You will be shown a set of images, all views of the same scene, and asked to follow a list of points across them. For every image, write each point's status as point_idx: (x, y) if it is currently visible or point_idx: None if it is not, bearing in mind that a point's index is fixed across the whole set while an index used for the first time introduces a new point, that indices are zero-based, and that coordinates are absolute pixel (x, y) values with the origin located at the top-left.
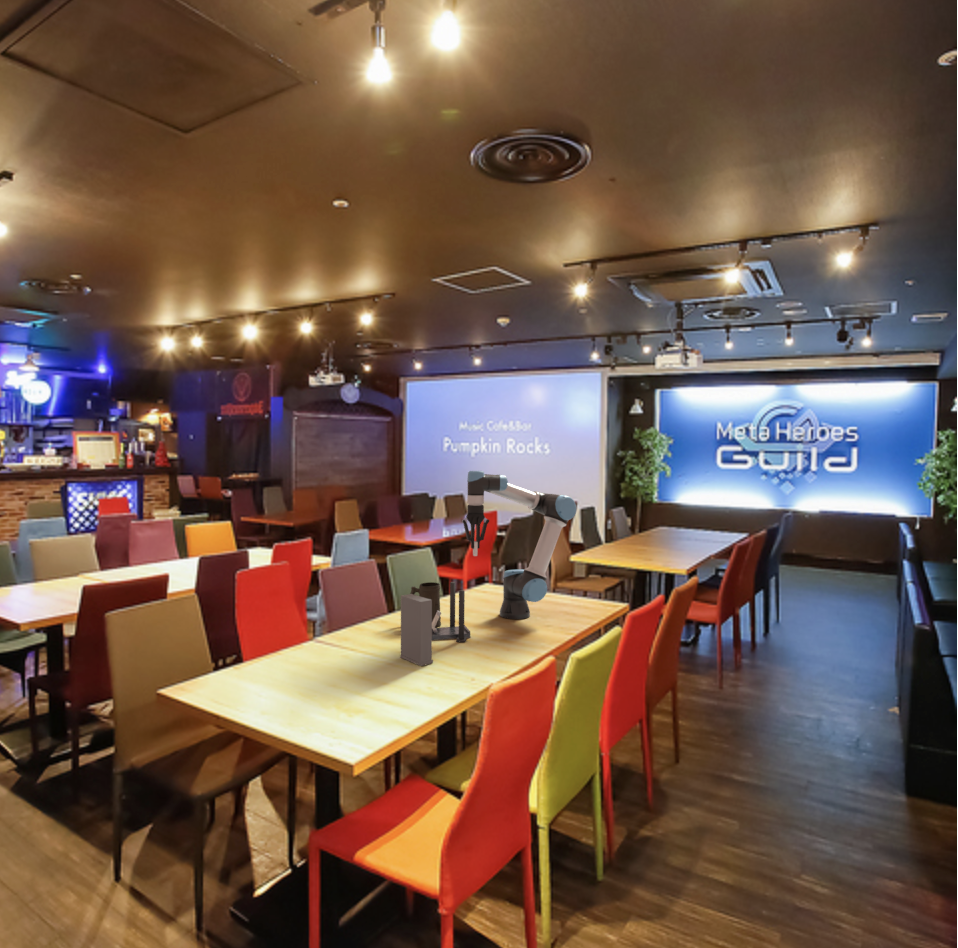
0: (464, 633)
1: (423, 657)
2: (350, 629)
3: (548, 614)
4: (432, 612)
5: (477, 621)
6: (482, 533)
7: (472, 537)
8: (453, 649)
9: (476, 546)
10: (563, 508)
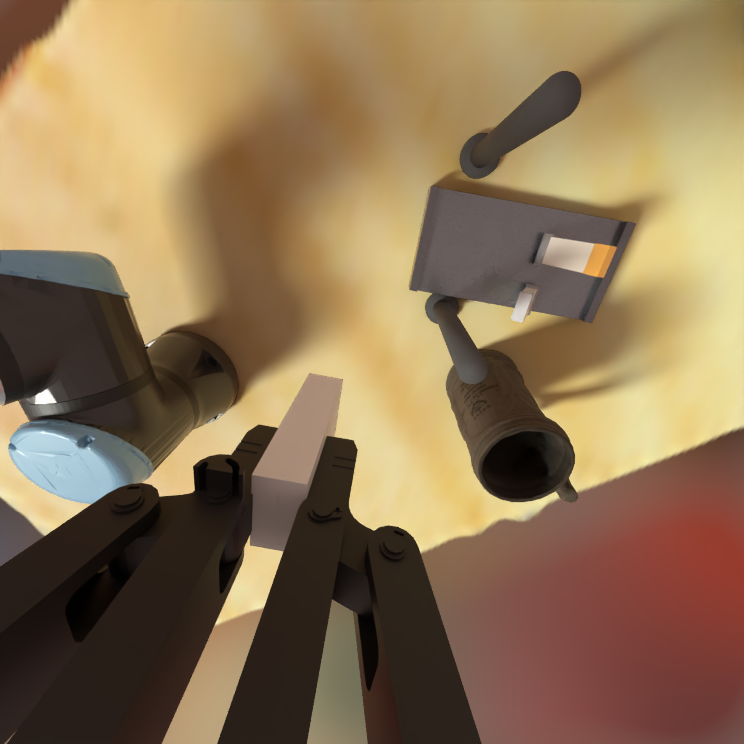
0: (452, 192)
1: None
2: (714, 431)
3: None
4: (504, 370)
5: (326, 363)
6: (21, 614)
7: (326, 566)
8: (562, 52)
9: (292, 433)
10: None
